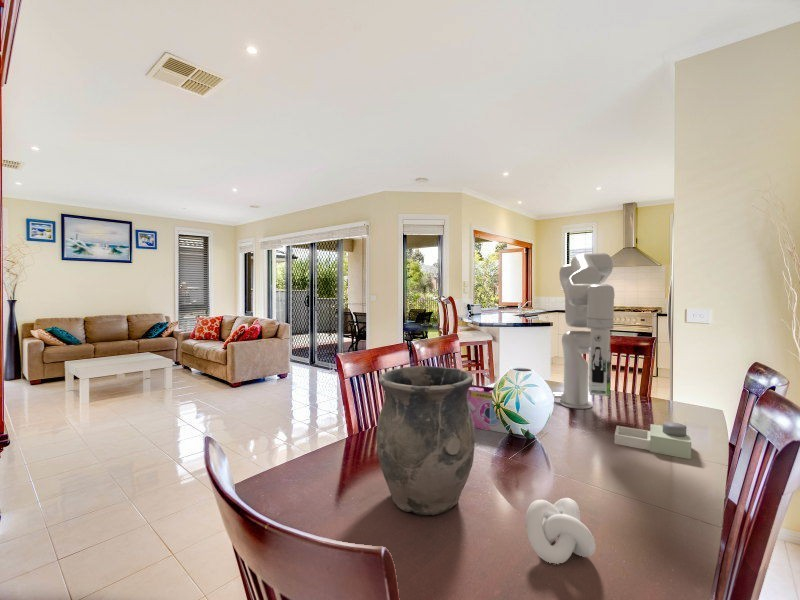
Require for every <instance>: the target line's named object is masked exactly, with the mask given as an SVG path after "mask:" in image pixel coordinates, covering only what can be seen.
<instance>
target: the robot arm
mask: <svg viewBox="0 0 800 600" xmlns="http://www.w3.org/2000/svg"><path fill="white" fill-rule="evenodd" d="M613 267H614V262H613V259H612V257H611V256H610V255H609V254H608V253H605V252H604V253H602V252H601V253H600V252H599V253H590V252H589V253H579V254H576V255H575V256H574V257H572V260H571V261H570V263H568V264H564V265H563V266H561V267H560V269H559V280H560V284H561V288H562V290H563V293H564V310H565V311H564V312H565V313H564V317H565V324H566V325H567V326H568V327H569V328H579V329H580V328H581V329H588V330H589V331H588V330H587V331H586V330H569V331H566V332H564V333H563V334H562V337H561V345H562V351H563V352H562V353H563V392H554V391H553V393H552V395H553V394H554V398H555V399H560V400H559V404H560V405H561V406H563V407H566V408H570V409H576V410H577V409H578V410H579V409H580V410H586V409H591V408H592V407H593V402H591V401H589V362H588V361H587V360H586V359H585V358H584V356H583V355H585V354H586V355H589V348H590V351H591V359H592V360H593V369H592V382H596V383H604V370H603V360H606V362H607V361H609V349H610V350H611V331H612V330H614V326H615V325H614V321H615V320H614V319H615V318H614V317H615V315H614V314H615V313H614V311H615V309H614V308H615V288H614V287H613V286H612V285H610V284H607V283H604V282H606V280H607V279H608V278H609V276H610V275H611V274H612V272H613V269H614V268H613ZM600 350H601V353H600ZM593 356H594V357H593ZM599 359H602V360H599ZM599 362H600V363H599Z"/></svg>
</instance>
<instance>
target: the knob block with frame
mask: <svg viewBox="0 0 800 600" xmlns="http://www.w3.org/2000/svg"><path fill="white" fill-rule="evenodd" d="M649 427H650V429H649V430H648V429H647V430H646V429H640V428H633V427H630V426H629V427H628V426H623V425H622V426H621V425H616V428H615V432H614V445H618V446H619V445H620V446H624V447H630V448H636V449H640V450H647V451H649V452H650V453H655V454H661V455H666V456H671V457H677V458H680V459H681V458H682V459H687V460H692V439H691V436H690V432H689V429H687V425H684V424H683V423H680V422H679V423H678V422H674V421H664V422H662V425H660V424H659V425H658V424H652V423H650V426H649Z"/></svg>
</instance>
